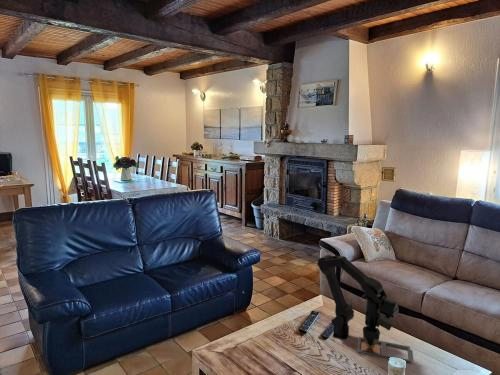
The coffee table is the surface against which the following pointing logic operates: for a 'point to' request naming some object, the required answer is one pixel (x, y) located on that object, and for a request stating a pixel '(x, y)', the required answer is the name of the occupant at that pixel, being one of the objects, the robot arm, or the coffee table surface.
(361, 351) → the grey double frame
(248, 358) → the coffee table surface
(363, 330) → the bronze ornate bell
